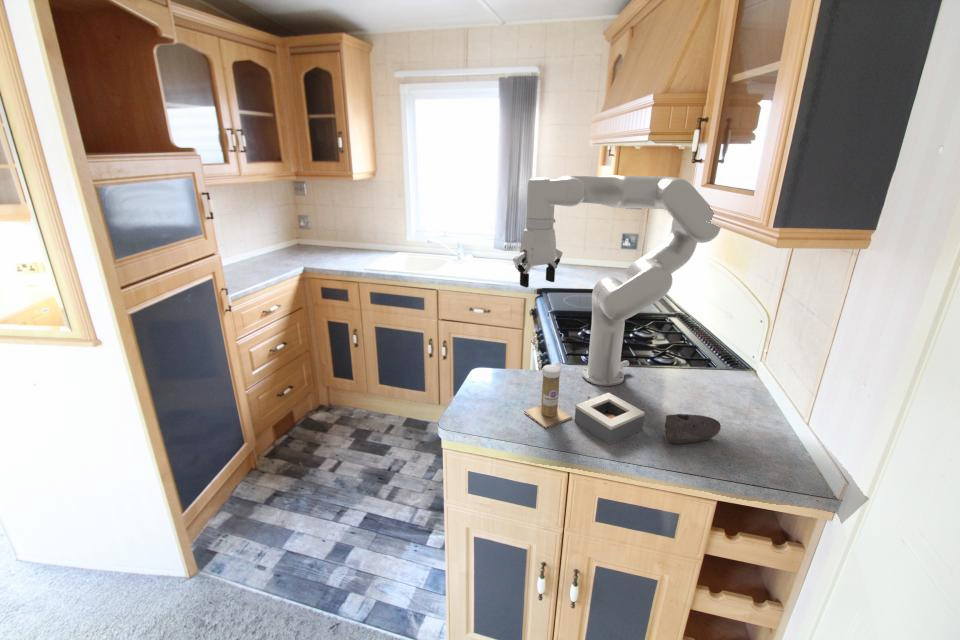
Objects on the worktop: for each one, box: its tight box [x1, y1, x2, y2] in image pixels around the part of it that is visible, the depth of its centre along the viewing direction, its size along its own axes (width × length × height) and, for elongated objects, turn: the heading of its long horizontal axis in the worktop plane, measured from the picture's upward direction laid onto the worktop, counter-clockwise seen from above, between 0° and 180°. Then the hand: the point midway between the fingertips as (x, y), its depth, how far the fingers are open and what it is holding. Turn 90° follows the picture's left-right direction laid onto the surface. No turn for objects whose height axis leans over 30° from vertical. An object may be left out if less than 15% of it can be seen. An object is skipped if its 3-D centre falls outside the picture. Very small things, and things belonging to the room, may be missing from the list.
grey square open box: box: [574, 392, 646, 446], centre depth 117 cm, size 12×12×5 cm
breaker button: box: [602, 413, 617, 419], centre depth 118 cm, size 5×5×2 cm
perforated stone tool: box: [664, 413, 722, 444], centre depth 111 cm, size 15×5×7 cm, turn 95°
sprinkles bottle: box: [540, 364, 561, 417], centre depth 120 cm, size 5×5×14 cm
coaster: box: [523, 404, 573, 429], centre depth 123 cm, size 9×9×1 cm
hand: (537, 283), depth 133 cm, fingers open, 9 cm apart
